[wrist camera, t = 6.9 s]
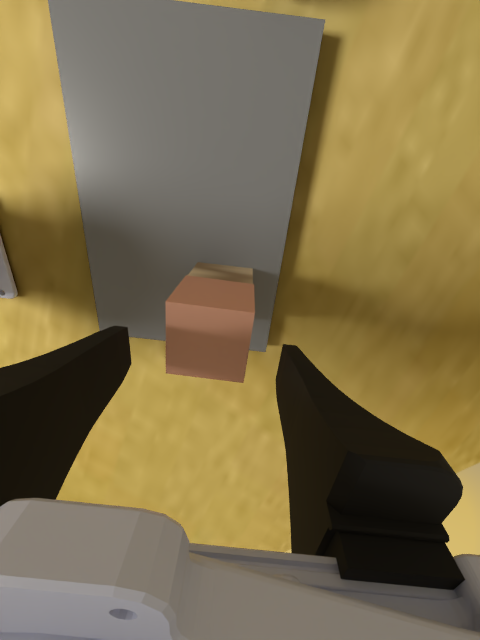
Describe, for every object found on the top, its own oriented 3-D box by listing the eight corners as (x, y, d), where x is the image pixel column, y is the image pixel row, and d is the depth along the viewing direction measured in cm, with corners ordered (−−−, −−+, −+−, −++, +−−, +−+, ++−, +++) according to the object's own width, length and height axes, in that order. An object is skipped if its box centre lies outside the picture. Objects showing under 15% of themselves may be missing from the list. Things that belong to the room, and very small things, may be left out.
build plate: (107, 326, 23) (100, 333, 22) (61, 0, 14) (45, -16, 13) (264, 344, 23) (265, 351, 22) (319, 32, 14) (325, 19, 13)
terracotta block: (184, 334, 17) (165, 373, 13) (185, 275, 15) (165, 301, 11) (245, 342, 17) (243, 382, 13) (254, 284, 15) (255, 313, 12)
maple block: (195, 312, 21) (184, 337, 17) (197, 262, 19) (184, 278, 15) (246, 317, 21) (245, 344, 17) (252, 268, 19) (252, 286, 15)
